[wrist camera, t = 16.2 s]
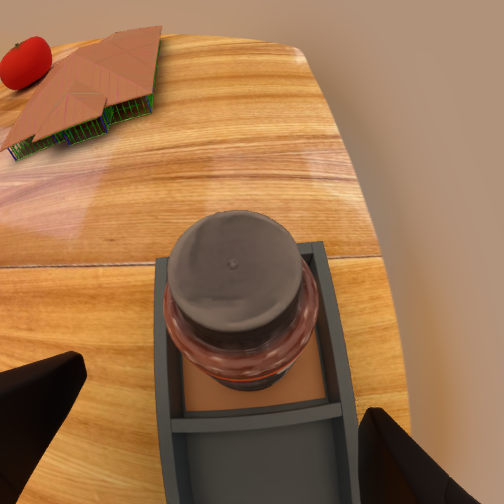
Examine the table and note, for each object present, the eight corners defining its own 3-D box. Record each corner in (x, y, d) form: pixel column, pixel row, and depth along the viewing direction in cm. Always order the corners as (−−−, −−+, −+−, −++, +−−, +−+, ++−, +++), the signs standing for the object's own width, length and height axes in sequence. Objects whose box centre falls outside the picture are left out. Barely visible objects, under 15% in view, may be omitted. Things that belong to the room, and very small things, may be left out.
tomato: (58, 60, 50) (45, 24, 40) (55, 76, 44) (38, 33, 34) (16, 85, 47) (0, 51, 37) (7, 106, 41) (-13, 67, 31)
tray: (314, 265, 22) (322, 240, 19) (352, 535, 12) (368, 554, 9) (169, 280, 22) (155, 257, 18) (192, 551, 12) (180, 572, 9)
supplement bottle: (309, 373, 17) (373, 326, 7) (217, 403, 17) (156, 398, 7) (277, 290, 20) (291, 168, 10) (191, 316, 19) (125, 215, 10)
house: (4, 181, 29) (-26, 140, 22) (62, 72, 45) (50, 42, 38) (157, 127, 30) (140, 66, 23) (164, 39, 46) (158, 5, 39)
